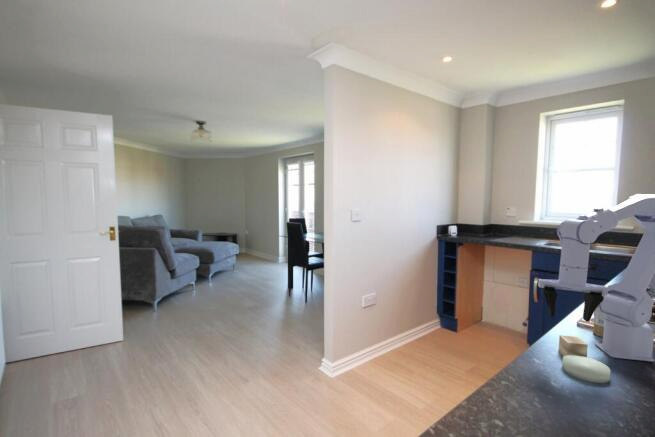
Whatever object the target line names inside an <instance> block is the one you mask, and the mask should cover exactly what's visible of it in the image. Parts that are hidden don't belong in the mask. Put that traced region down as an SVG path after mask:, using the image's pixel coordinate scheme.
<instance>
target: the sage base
mask: <svg viewBox="0 0 655 437" xmlns="http://www.w3.org/2000/svg"><path fill="white" fill-rule="evenodd" d="M561 364H562V366H561V368H562V369H563V371H564V372H566V373H567V374H569V375H570V376H572V377H575V378H577V379H579V380H583V381H586V382H589V383H595V384H605V383H608V382H610V380H611V369H610V367H609V366H608V365H606V364H604V363H603V362H600V361H599V360H596V359H594V358H591V357H588V356H587V357H584V356H578V355H566V356H563V357H562V363H561Z"/></svg>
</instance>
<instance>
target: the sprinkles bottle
mask: <svg viewBox="0 0 655 437" xmlns="http://www.w3.org/2000/svg"><path fill="white" fill-rule="evenodd" d="M604 320H605V317H603V316H602V312H601V311H600V310H599V309H598V307H597V308H596V309H595V311H594V313H593V327H592V329H593V330H592V333H593V335H595V336H598V337H601V338H603V333H604Z"/></svg>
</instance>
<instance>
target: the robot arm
mask: <svg viewBox="0 0 655 437" xmlns="http://www.w3.org/2000/svg"><path fill="white" fill-rule="evenodd" d="M628 218H634V221H635V222H636V223H637V225H638V226H639V227H641V228H642V229H644V233H643V235H642V237H641V239H640V241H639V243H638V245H637V247H636V249H635V251H634V253H633V255H632V257H631V259H630V261H629V262H628V264H627V267H626V268H625V271H624V273H623V275H622V276H621V277H622V278H621V279H620V281H619V282H617V283H616V282H615V283H613V284H610V285H608V286H606V285H600V284H593V283H587V281H588V280H587V279H588V270H589V259H590V249H591V244H594V242H595V241H596V240H597V239H598V237H599V236H600V235H601V234H604V233H606V232H608V231H610V230H613V229H615V228H616V227H618V224H619V221H622V220H625V219H628ZM556 234H557V236H558V238H559V245H560V247H561V249H560V261H559V271H558V279H544V278H538V281H537V287H539V288H540V289H541V291H542V293H543V295H544V297H545V301H546V304H547V310H548V311H547V312H548V316H550V317H551V318H552V317H553V318H554V317H555V315H556V314H555V313H556V312H555V311H556V303H557V302H556V301H557V297H558V293H557V291H556V290H563V291H573V292H579V293H580V292H581V293H583V297H584V301H583V303H584V304H583V305H584V308H583V314H582V317H583V318H582V319H583V320H584V321H585V322H586V323H587V322H588V323H590V321H591V319H592V316H594V311H595V309H596V308H597V307H598V309H599V310H600V311H601V312H602V316H603V317H605V320H604V333H603V337H602V342H595V343H594V346H596V347H598V348H599V349H600V350H602V352H604V353H605V354H606V355H608V356H609V357H611V358H615V359H624V360H634V361H644V362H645V361H646V362H651V363H652V362H654V361H655V360H654V358H653V350H654V336H655V335H654V331H653V329H652V327H651V326H650V325H649V324H648V322H649V321H650V320H651V319H652V314H653V312H652V311H653V307H654V304H655V301H654V299H653V298H652V297H651V295H650V294H649V293H648V292H647V289H648V287H649V285H650V283H651V280H652V279H653V276H654V275H655V194H654V193H653V194H652V193H651V194H648V193H645V194H643V193H636V194H634V195H631V196H629V197H628V198H627V200H625V201H623V202H621V203H620V204H618V205H615V206H613V207H610V208H605V207H600V206H599V207H595V208H594V209H593V211H591V212H589V213H586V214H581V215H578V217H577V218H575V219H573V218H567V219H565V220H564V221H562V222H561V223H560V224H559V227H558V228H557V229H556Z"/></svg>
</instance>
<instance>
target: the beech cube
mask: <svg viewBox="0 0 655 437" xmlns="http://www.w3.org/2000/svg"><path fill="white" fill-rule="evenodd" d="M558 340H559V341H558V352H559V353H560V354H561V355H562V356H563V357H564V356H566V355H578V356H584V357H588V346H589V345H588V343H586V342H585V341H584V340H583V339H582V338H580V337H579V336H571V335H561V334H559V337H558Z"/></svg>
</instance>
